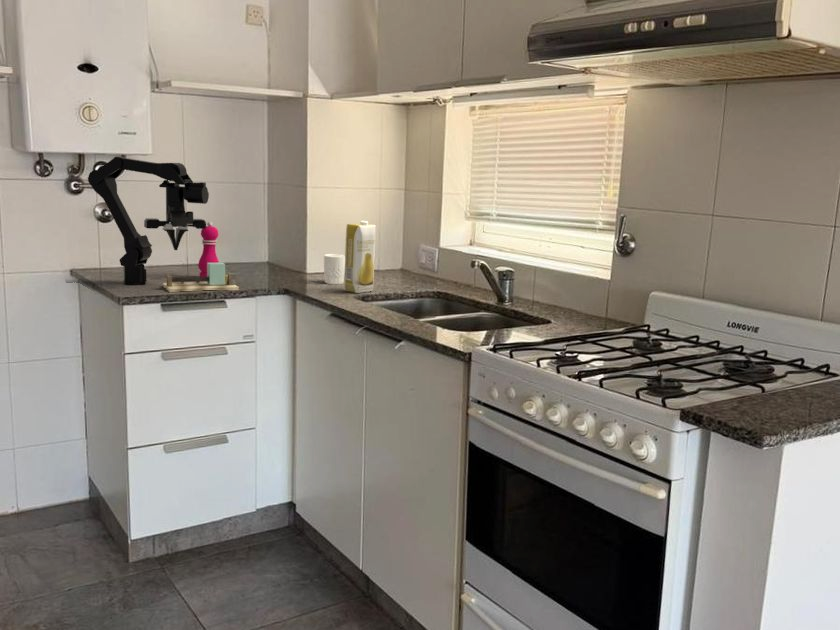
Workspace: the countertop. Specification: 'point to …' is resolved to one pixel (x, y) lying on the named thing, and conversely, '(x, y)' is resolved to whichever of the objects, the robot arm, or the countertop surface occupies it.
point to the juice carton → (359, 257)
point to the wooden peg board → (198, 284)
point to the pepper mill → (208, 248)
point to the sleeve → (216, 273)
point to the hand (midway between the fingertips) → (175, 250)
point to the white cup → (334, 268)
